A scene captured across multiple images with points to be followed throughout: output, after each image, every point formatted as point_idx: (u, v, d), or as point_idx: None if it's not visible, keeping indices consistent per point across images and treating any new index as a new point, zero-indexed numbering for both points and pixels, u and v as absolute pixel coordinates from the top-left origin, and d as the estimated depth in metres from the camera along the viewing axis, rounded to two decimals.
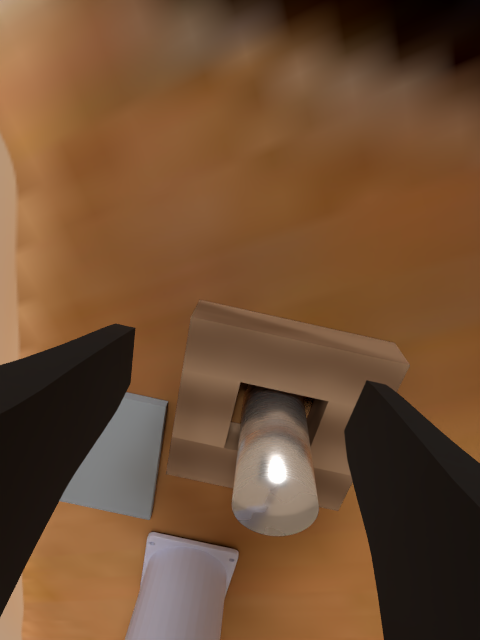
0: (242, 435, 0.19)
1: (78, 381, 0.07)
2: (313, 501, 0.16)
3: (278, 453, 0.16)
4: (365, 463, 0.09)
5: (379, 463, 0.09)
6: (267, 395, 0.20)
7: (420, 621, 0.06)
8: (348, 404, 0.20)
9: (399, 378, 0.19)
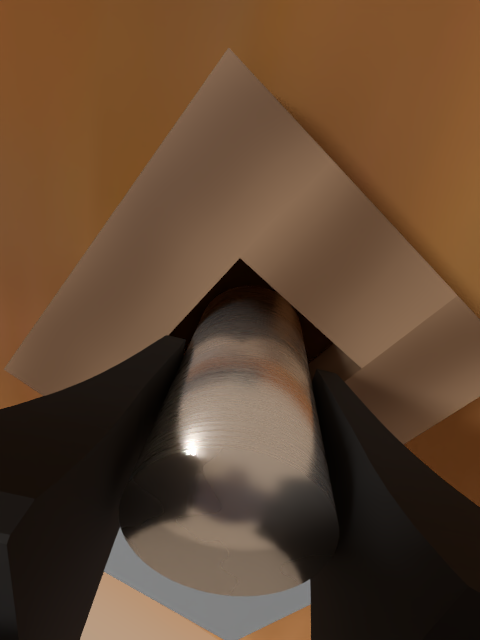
0: None
1: (147, 396, 0.07)
2: (247, 459, 0.05)
3: (152, 428, 0.07)
4: None
5: None
6: None
7: (336, 603, 0.06)
8: (269, 225, 0.09)
9: (253, 88, 0.08)
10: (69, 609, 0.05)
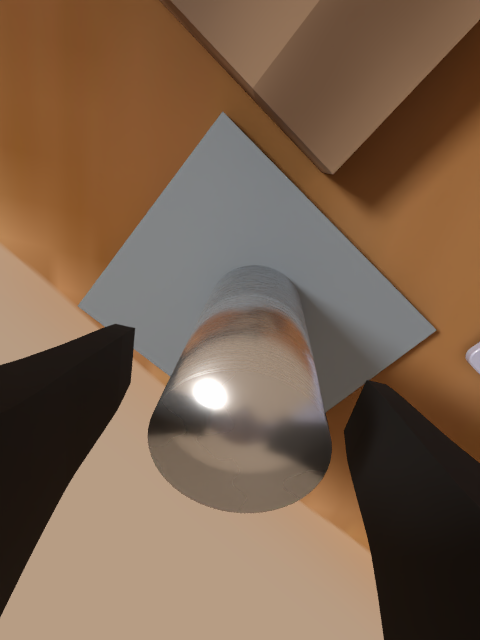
0: None
1: (78, 381, 0.07)
2: (256, 380, 0.07)
3: (174, 370, 0.08)
4: (365, 463, 0.09)
5: (379, 463, 0.09)
6: None
7: (420, 621, 0.06)
8: None
9: None
10: None
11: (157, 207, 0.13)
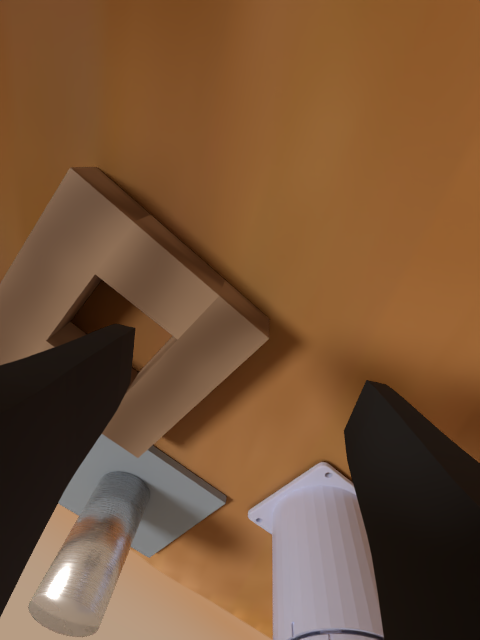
0: None
1: (78, 381, 0.07)
2: (64, 599, 0.18)
3: (46, 574, 0.20)
4: (365, 463, 0.09)
5: (379, 463, 0.09)
6: None
7: (420, 621, 0.06)
8: (108, 255, 0.17)
9: (86, 186, 0.15)
10: None
11: None
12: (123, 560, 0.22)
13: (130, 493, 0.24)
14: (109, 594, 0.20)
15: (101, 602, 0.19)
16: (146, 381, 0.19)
